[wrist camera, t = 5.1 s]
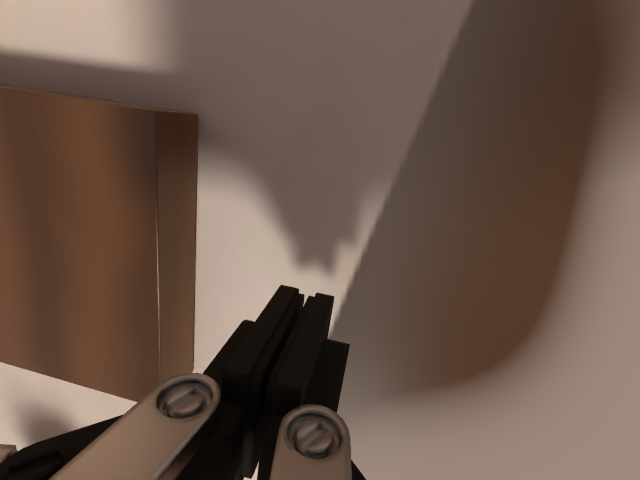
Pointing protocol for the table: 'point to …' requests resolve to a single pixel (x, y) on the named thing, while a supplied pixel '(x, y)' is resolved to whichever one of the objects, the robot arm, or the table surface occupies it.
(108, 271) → the cutting board
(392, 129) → the table surface
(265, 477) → the robot arm
